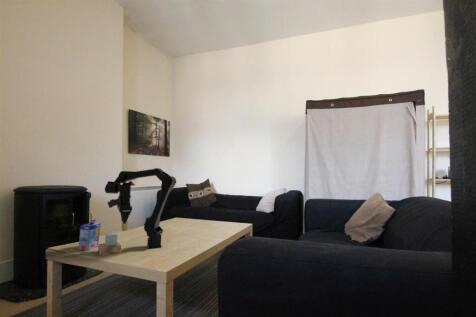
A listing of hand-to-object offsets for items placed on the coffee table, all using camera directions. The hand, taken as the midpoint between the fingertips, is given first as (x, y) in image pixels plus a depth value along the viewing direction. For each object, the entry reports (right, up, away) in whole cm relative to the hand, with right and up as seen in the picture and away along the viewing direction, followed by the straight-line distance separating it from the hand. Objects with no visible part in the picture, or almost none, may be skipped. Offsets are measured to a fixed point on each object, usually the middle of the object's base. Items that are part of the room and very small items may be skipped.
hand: (123, 222), depth 141 cm
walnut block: (-1, -12, -14) cm, 18 cm away
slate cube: (-1, -8, -13) cm, 15 cm away
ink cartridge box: (-16, -12, -6) cm, 21 cm away
